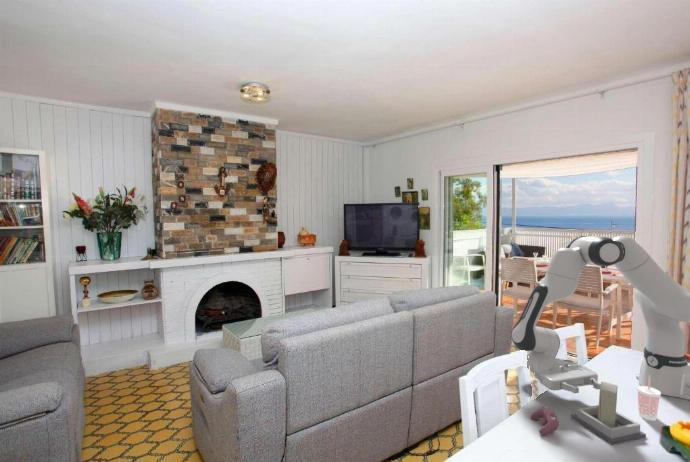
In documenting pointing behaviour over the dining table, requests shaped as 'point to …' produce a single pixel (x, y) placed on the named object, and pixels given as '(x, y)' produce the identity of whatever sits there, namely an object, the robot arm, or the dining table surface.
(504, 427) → the dining table surface
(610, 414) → the skincare box
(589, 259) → the robot arm
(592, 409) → the socket dock
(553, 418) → the video game controller
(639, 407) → the beverage cup
